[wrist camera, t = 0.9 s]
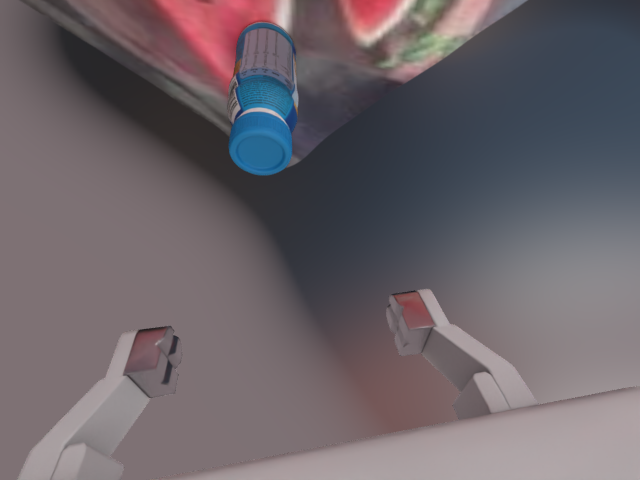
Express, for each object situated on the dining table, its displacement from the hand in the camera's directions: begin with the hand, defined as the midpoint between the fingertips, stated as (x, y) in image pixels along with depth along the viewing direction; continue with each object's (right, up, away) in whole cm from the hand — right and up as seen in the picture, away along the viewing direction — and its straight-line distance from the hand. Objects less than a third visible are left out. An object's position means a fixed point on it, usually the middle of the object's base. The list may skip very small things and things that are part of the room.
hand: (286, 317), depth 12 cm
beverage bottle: (-6, +30, +31) cm, 44 cm away
